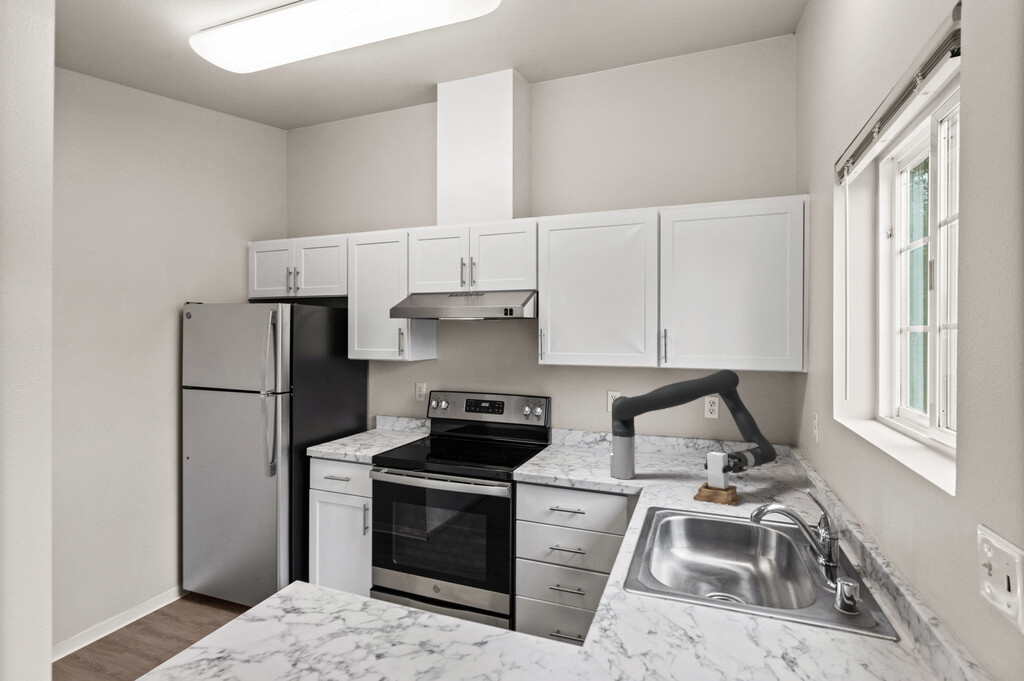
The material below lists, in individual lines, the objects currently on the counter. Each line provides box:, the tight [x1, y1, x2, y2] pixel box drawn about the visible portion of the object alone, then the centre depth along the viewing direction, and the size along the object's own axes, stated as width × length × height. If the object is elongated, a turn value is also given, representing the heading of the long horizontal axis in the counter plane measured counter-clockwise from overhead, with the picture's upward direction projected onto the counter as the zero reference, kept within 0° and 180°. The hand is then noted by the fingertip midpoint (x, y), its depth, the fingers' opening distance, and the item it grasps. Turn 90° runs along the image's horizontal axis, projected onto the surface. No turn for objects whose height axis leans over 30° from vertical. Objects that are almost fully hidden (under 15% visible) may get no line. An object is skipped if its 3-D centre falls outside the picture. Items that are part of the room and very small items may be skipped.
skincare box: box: [706, 451, 730, 489], centre depth 198 cm, size 6×4×12 cm
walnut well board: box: [692, 481, 742, 507], centre depth 198 cm, size 14×12×4 cm
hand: (714, 468), depth 197 cm, fingers closed on skincare box, 6 cm apart
